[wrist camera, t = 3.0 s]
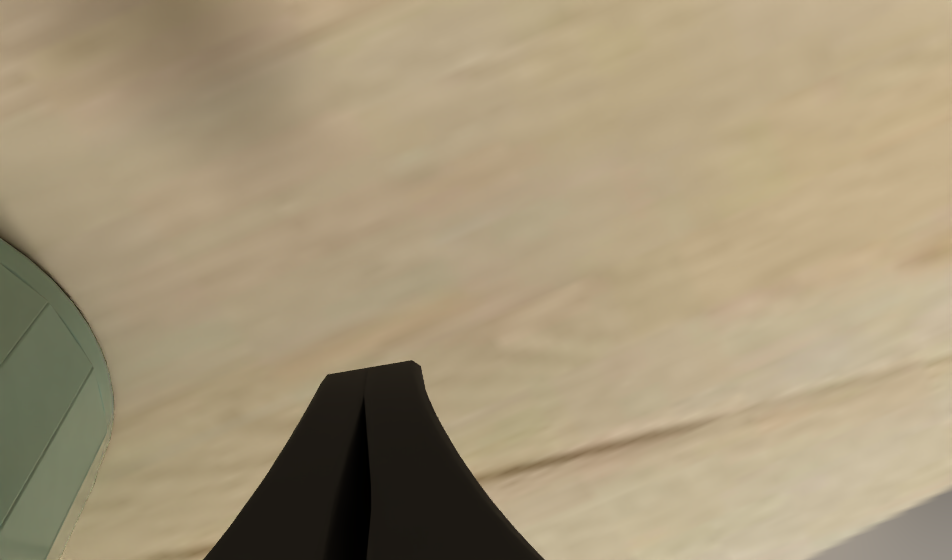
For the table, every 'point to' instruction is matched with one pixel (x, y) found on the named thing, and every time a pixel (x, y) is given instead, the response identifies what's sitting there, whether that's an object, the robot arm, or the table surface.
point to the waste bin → (46, 411)
